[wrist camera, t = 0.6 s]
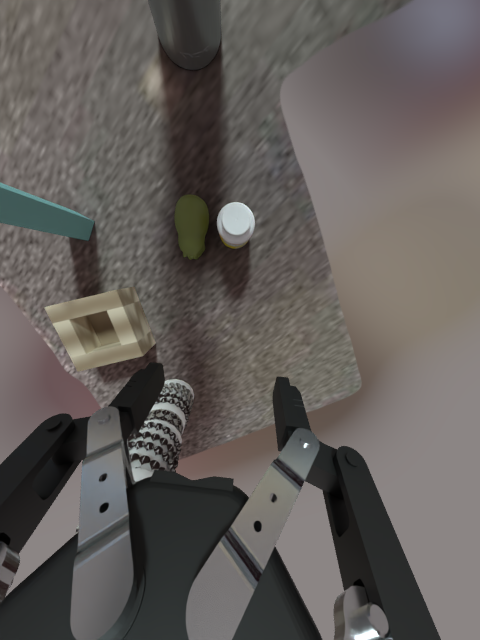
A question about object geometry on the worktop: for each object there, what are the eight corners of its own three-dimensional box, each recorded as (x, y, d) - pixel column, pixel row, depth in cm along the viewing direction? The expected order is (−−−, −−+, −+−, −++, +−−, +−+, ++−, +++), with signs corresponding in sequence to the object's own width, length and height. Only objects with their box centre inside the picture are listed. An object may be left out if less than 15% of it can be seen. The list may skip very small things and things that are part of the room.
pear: (208, 194, 28) (204, 263, 32) (212, 200, 33) (208, 259, 37) (170, 188, 28) (171, 259, 32) (179, 195, 32) (179, 255, 36)
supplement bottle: (225, 211, 34) (224, 187, 24) (254, 224, 35) (264, 206, 25) (215, 242, 35) (209, 231, 25) (242, 254, 36) (247, 248, 26)
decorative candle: (162, 371, 41) (68, 515, 17) (202, 386, 43) (167, 538, 18) (148, 404, 43) (45, 575, 19) (186, 417, 44) (137, 592, 20)
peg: (67, 230, 33) (-73, 196, 18) (73, 210, 32) (-69, 156, 17) (88, 240, 34) (-30, 216, 18) (94, 221, 33) (-24, 178, 18)
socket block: (73, 301, 36) (44, 307, 30) (134, 286, 36) (116, 289, 30) (99, 356, 39) (77, 371, 34) (155, 343, 39) (143, 356, 34)
